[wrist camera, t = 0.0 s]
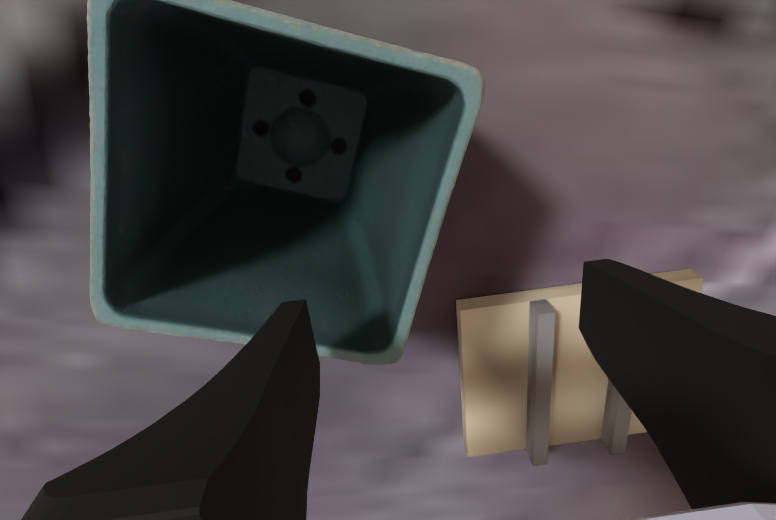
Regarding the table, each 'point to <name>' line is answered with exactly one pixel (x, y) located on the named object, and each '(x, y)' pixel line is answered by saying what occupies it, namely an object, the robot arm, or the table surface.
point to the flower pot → (266, 173)
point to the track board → (538, 374)
